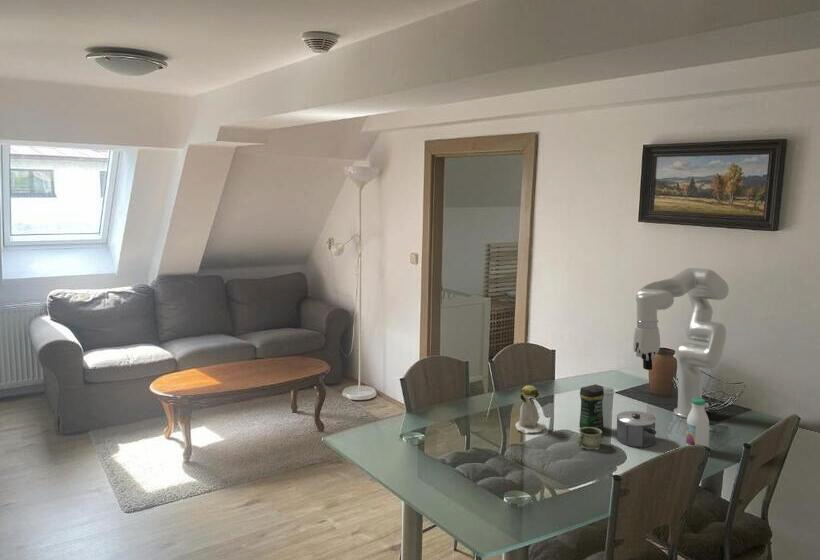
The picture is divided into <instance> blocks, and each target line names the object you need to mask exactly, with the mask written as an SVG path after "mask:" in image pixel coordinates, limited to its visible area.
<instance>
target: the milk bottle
mask: <svg viewBox="0 0 820 560" xmlns="http://www.w3.org/2000/svg"><path fill="white" fill-rule="evenodd" d="M705 403H706V400H705V399H704V398H693V399H692V409H691V411H690V413H689V415H688V418H686V431H685V432H686V435H685V436H686V439H685V442H686V443H685V444H686V445H695V444H700V445H704V446H707V447H709V446H710V445H709V444H710V420H709V417H708V414H707V411H706V408H704V406H705ZM686 445H685V446H686ZM709 448H710V447H709Z"/></svg>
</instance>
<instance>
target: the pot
mask: <svg viewBox="0 0 820 560" xmlns="http://www.w3.org/2000/svg"><path fill="white" fill-rule="evenodd" d="M656 434H657V431H656V423H655V424H653V425H650V426H631V425H626V424H623V423H621V422H619V421H618V420H617V419H616V440H617V442H619V443H620V444H622V445H624V446H627V447H632V448H648V447H652V446H654V445H655V444H656Z"/></svg>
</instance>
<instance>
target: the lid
mask: <svg viewBox="0 0 820 560" xmlns="http://www.w3.org/2000/svg"><path fill="white" fill-rule="evenodd" d="M617 420H618V421H619V422H621V423H623V424H626V425H631V426H650V425H653V424H655V425H656V422H657V420H656V417H655V416H654V415H653V414H651V413H648V412H644V411H636V410H634V411H633V410H629V411H628V410H626V411H621V412H619V413H617V415H616V421H617Z"/></svg>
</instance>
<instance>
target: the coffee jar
mask: <svg viewBox="0 0 820 560" xmlns="http://www.w3.org/2000/svg"><path fill="white" fill-rule="evenodd" d="M604 393H605V392H604V387H603V386H602V385H600V384H596V383H594V384H591V385H588V386H582V387H580V390H579V397H580V412H579V413H580V414H579V423H578V424H579V425H578V426H579V429H580V428H583V427H594V428H598V429H600V430H601V431H602V430H603V429H604V411H603V400H604V397H605V394H604Z"/></svg>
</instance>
